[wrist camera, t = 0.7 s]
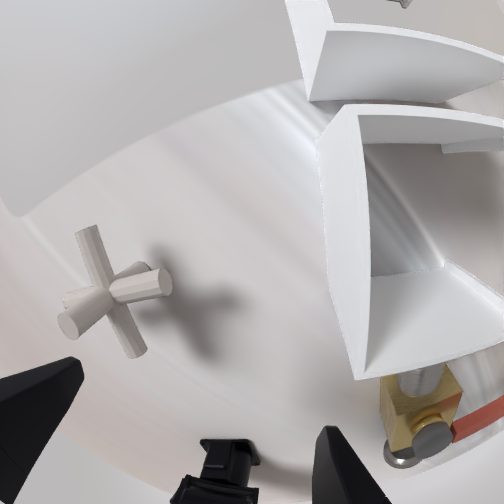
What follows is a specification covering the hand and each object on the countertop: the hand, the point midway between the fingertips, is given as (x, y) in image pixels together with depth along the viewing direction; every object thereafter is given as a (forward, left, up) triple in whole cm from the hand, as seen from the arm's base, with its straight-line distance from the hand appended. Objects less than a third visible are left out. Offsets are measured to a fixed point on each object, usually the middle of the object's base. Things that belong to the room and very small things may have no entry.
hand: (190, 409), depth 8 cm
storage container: (+9, -13, -15) cm, 21 cm away
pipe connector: (+2, +9, -14) cm, 17 cm away
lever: (-16, -18, -7) cm, 25 cm away
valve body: (-16, -13, -14) cm, 25 cm away
